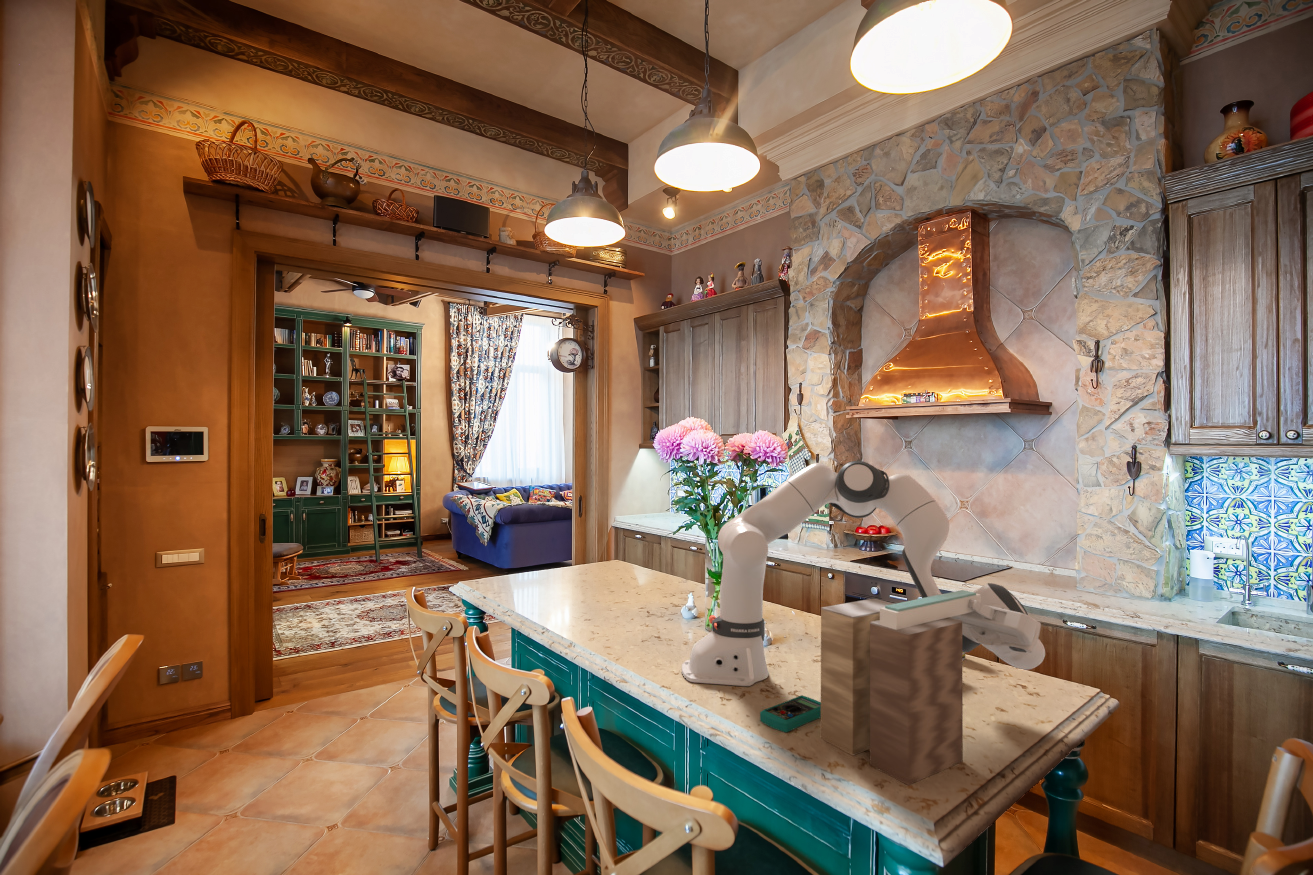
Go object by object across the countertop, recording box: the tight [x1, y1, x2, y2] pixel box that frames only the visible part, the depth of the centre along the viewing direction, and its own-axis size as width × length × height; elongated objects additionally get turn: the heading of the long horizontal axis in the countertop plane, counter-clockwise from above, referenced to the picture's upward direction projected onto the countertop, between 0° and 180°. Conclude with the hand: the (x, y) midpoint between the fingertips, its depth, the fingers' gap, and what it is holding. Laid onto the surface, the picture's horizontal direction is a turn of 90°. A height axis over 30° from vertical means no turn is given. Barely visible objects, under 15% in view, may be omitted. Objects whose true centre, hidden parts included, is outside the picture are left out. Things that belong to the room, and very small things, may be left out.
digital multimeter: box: [759, 695, 821, 733], centre depth 131 cm, size 7×15×3 cm, turn 129°
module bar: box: [880, 589, 981, 630], centre depth 115 cm, size 26×4×3 cm, turn 121°
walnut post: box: [869, 617, 964, 786], centre depth 112 cm, size 16×8×26 cm, turn 121°
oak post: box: [820, 598, 895, 756], centre depth 122 cm, size 16×8×26 cm, turn 122°
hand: (959, 600), depth 120 cm, fingers closed on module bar, 3 cm apart
